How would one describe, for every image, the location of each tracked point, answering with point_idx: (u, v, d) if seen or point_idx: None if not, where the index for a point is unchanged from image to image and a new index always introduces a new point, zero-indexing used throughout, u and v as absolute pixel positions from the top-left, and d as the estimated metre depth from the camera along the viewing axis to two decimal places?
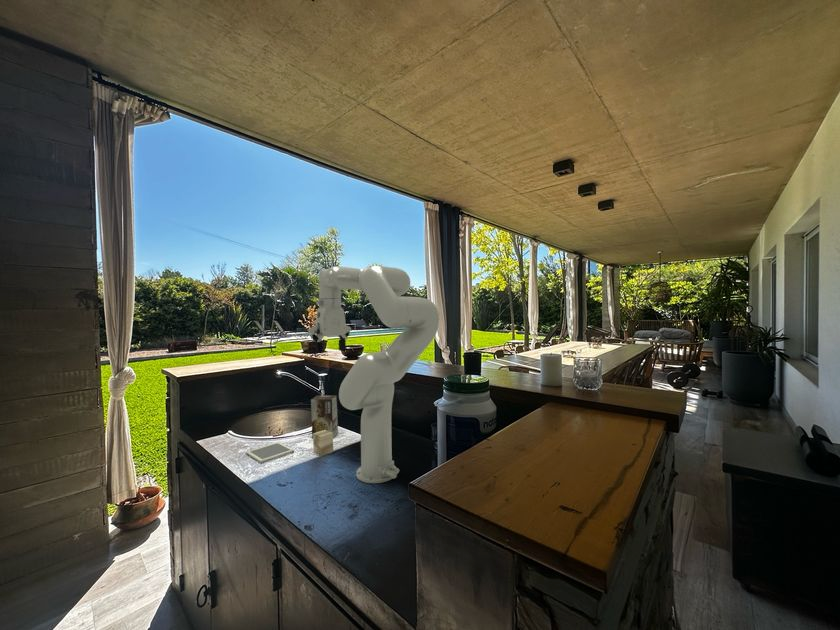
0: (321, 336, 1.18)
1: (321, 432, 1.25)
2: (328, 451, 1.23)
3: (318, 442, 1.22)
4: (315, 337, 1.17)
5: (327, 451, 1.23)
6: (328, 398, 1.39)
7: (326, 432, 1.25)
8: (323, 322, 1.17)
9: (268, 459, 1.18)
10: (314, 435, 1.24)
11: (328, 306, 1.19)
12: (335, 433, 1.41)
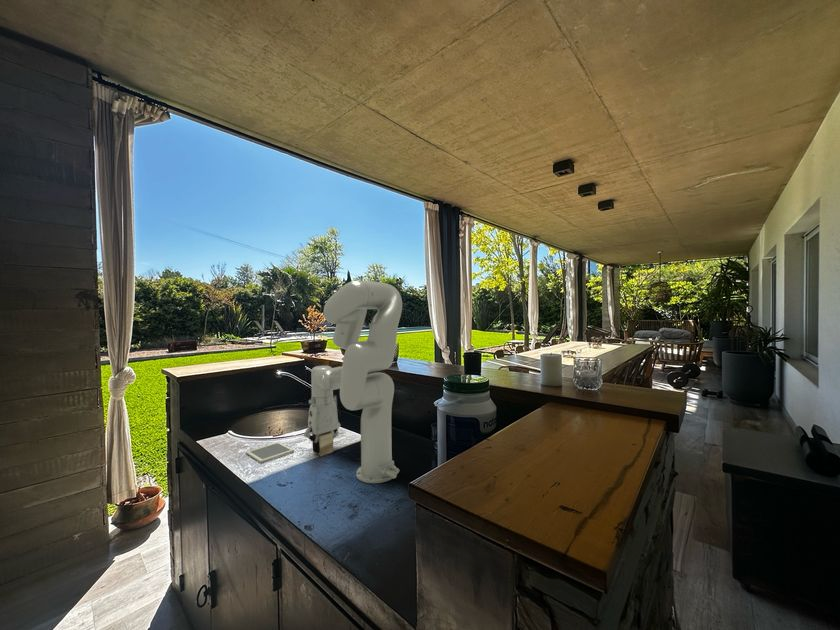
0: (317, 436, 1.21)
1: None
2: (328, 451, 1.23)
3: None
4: (312, 438, 1.21)
5: (327, 451, 1.23)
6: None
7: (326, 432, 1.25)
8: (315, 422, 1.20)
9: (268, 459, 1.18)
10: None
11: (320, 405, 1.21)
12: (335, 433, 1.41)
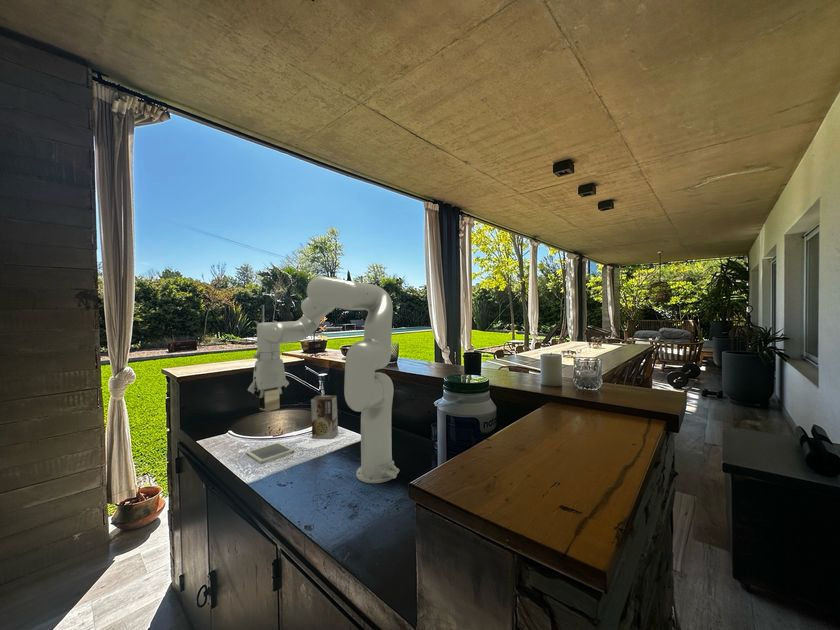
0: (262, 391, 1.21)
1: (268, 389, 1.24)
2: (274, 407, 1.23)
3: None
4: (257, 393, 1.20)
5: (273, 407, 1.22)
6: (329, 398, 1.39)
7: (273, 388, 1.24)
8: (259, 376, 1.19)
9: (268, 459, 1.18)
10: None
11: (265, 360, 1.20)
12: (335, 433, 1.41)
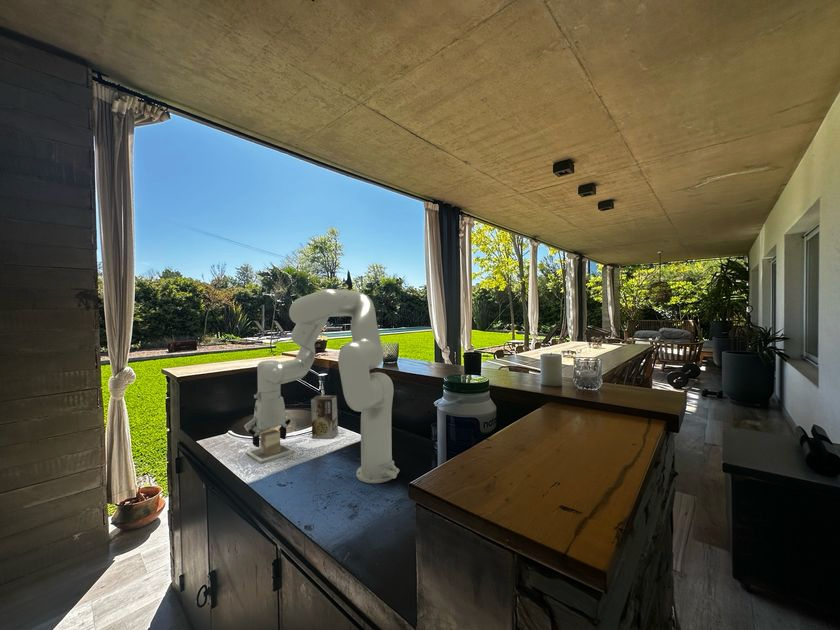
0: (258, 430, 1.20)
1: (269, 432, 1.24)
2: (274, 451, 1.23)
3: (264, 441, 1.22)
4: (251, 432, 1.18)
5: (273, 451, 1.22)
6: (328, 398, 1.39)
7: (273, 432, 1.24)
8: (260, 417, 1.19)
9: (268, 459, 1.18)
10: (261, 434, 1.23)
11: (265, 400, 1.20)
12: (335, 433, 1.41)
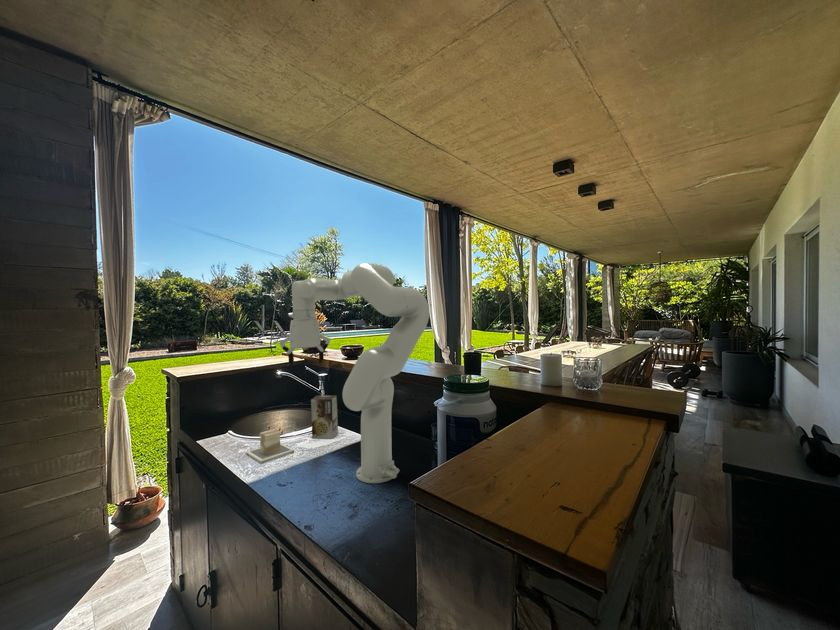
0: (291, 348, 1.19)
1: (269, 432, 1.24)
2: (274, 451, 1.23)
3: (264, 441, 1.22)
4: (285, 349, 1.19)
5: (273, 451, 1.22)
6: (329, 398, 1.39)
7: (273, 432, 1.24)
8: (290, 334, 1.18)
9: (268, 459, 1.18)
10: (261, 434, 1.23)
11: (295, 318, 1.18)
12: (335, 433, 1.41)
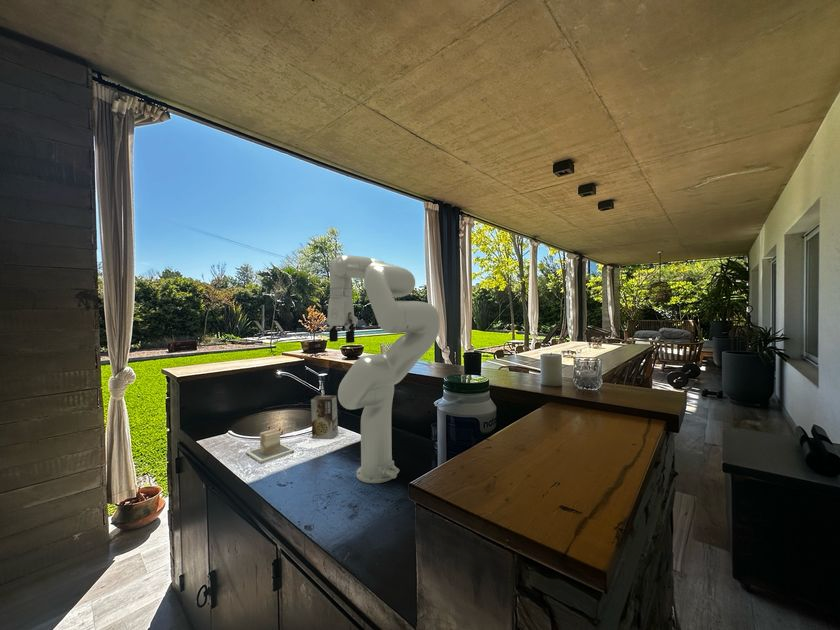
0: (330, 325, 1.23)
1: (269, 432, 1.24)
2: (274, 451, 1.23)
3: (264, 441, 1.22)
4: (328, 326, 1.25)
5: (273, 451, 1.22)
6: (328, 398, 1.39)
7: (273, 432, 1.24)
8: None
9: (268, 459, 1.18)
10: (261, 434, 1.23)
11: None
12: (335, 433, 1.41)
